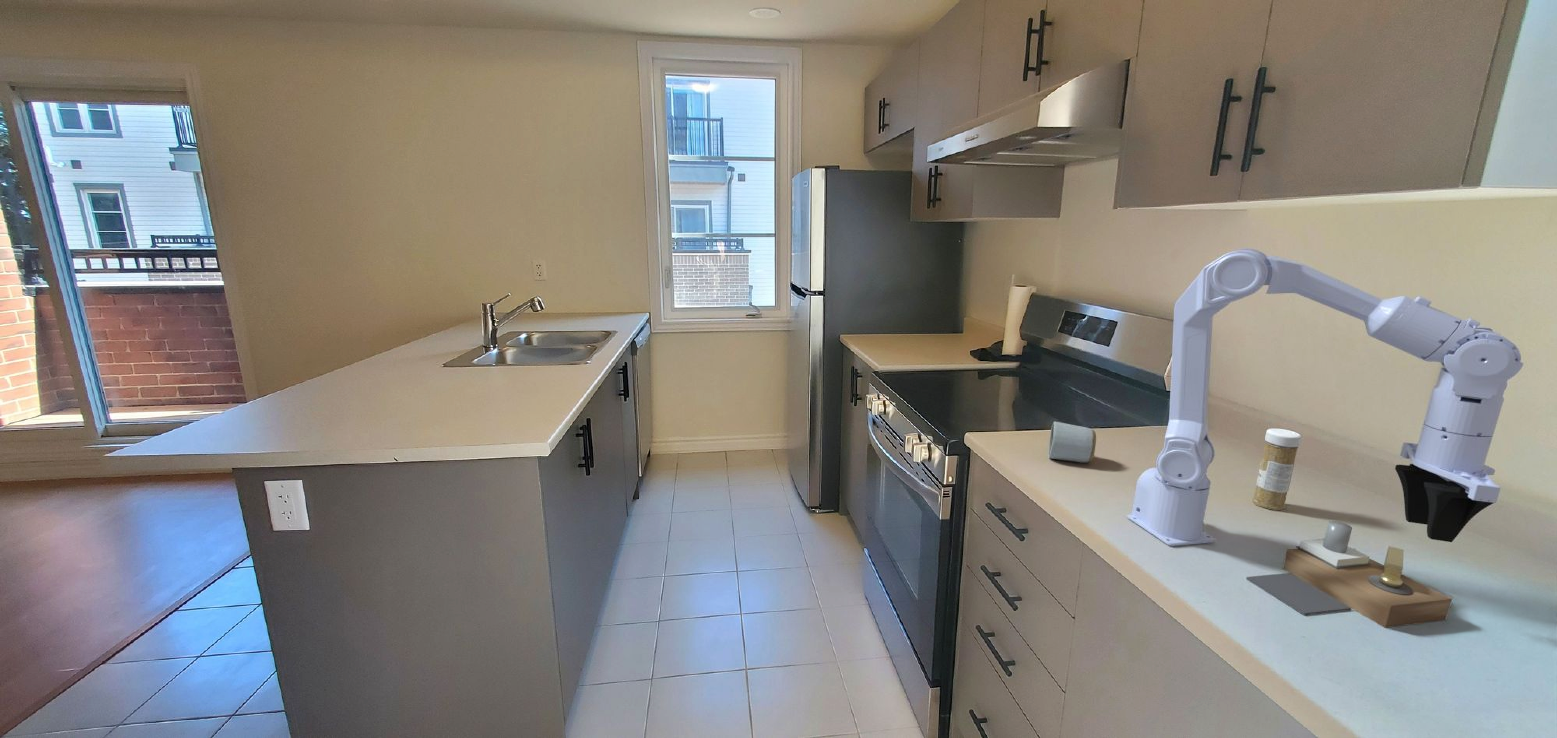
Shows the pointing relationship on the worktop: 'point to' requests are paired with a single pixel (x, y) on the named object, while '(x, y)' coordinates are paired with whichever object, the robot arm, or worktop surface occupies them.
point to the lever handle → (1393, 568)
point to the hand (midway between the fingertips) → (1428, 530)
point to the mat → (1298, 594)
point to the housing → (1370, 590)
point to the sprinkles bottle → (1276, 468)
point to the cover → (1335, 546)
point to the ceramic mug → (1071, 443)
